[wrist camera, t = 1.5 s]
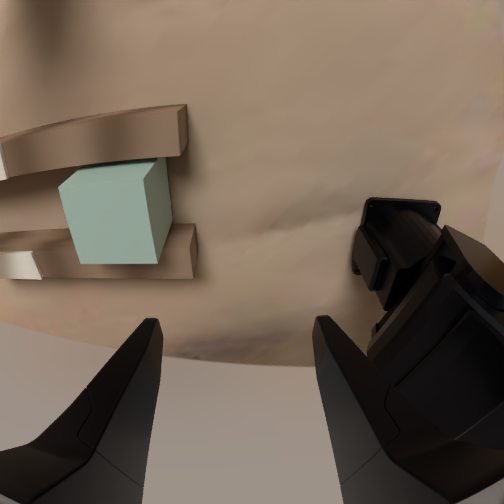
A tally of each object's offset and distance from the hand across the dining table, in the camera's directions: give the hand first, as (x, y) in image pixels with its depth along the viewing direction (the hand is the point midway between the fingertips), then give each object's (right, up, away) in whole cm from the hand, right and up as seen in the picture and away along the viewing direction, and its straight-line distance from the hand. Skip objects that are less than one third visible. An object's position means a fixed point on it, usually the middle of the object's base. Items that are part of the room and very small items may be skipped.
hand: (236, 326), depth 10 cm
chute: (-13, +7, +9) cm, 18 cm away
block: (-7, +7, +10) cm, 14 cm away
